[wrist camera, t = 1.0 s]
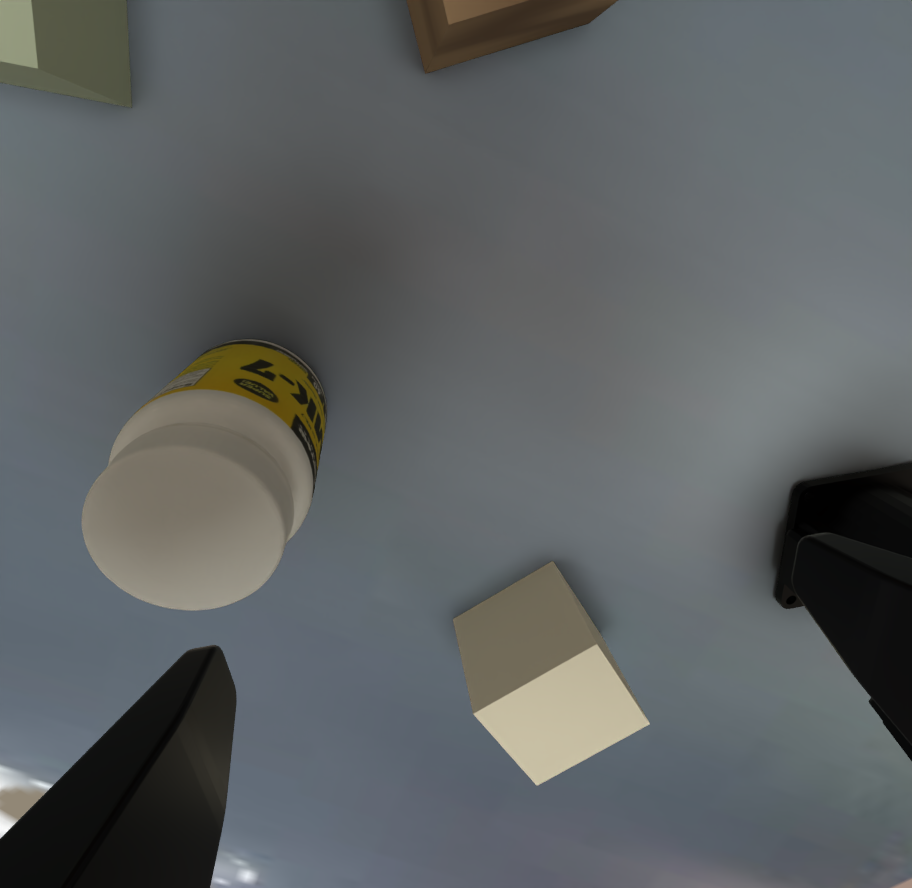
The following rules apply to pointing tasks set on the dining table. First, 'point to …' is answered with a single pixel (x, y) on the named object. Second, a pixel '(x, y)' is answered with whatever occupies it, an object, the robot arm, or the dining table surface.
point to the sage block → (67, 48)
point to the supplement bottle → (210, 479)
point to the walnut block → (491, 25)
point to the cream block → (544, 676)
